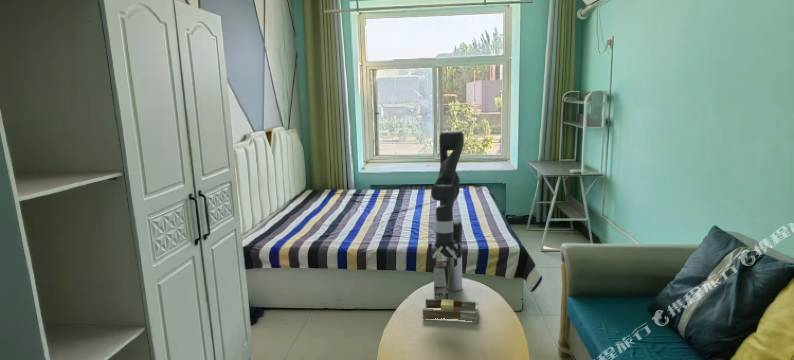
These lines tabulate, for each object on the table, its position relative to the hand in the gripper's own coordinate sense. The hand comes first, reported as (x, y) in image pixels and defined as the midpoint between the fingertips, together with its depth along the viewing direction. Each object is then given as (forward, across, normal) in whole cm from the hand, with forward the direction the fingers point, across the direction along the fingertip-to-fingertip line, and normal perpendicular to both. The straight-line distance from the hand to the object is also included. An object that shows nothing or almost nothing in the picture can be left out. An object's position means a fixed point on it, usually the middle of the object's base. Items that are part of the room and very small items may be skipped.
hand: (444, 266), depth 199 cm
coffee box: (+18, +2, -8) cm, 20 cm away
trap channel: (+19, -3, +8) cm, 21 cm away
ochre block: (+17, -2, +8) cm, 19 cm away
